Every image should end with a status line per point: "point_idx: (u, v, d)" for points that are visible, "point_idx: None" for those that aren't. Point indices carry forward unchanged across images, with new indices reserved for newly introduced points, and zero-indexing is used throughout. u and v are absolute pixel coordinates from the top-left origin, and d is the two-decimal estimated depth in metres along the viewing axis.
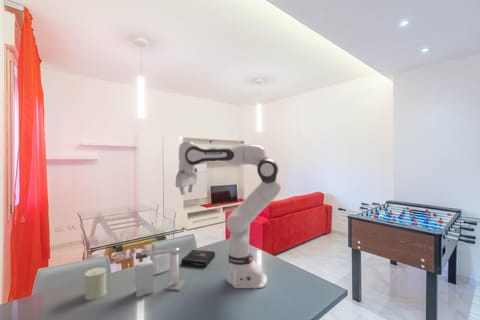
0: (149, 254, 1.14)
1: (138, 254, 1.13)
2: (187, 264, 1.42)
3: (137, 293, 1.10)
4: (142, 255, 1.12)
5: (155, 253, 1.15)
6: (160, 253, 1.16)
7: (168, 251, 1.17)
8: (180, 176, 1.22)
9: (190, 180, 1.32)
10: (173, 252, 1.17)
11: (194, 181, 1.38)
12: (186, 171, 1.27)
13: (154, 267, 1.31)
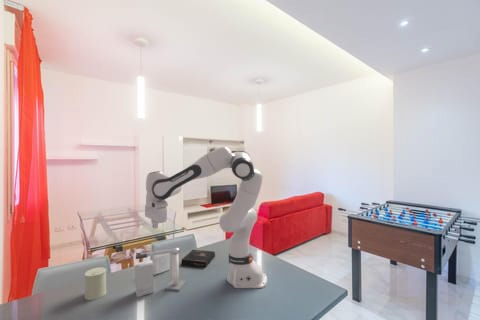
0: (149, 254, 1.14)
1: (138, 254, 1.13)
2: (187, 264, 1.42)
3: (137, 293, 1.10)
4: (142, 255, 1.12)
5: (155, 253, 1.15)
6: (160, 253, 1.16)
7: (168, 251, 1.17)
8: None
9: (152, 214, 1.17)
10: (173, 252, 1.17)
11: (157, 219, 1.13)
12: None
13: (154, 267, 1.31)
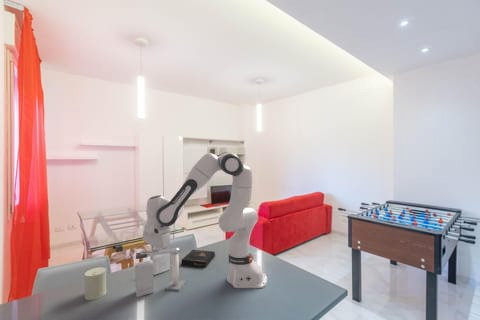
0: (149, 254, 1.14)
1: (138, 254, 1.13)
2: (187, 264, 1.42)
3: (137, 293, 1.10)
4: (142, 255, 1.12)
5: (155, 253, 1.15)
6: (160, 253, 1.16)
7: (168, 251, 1.17)
8: None
9: (154, 240, 1.15)
10: (173, 252, 1.17)
11: (160, 244, 1.12)
12: None
13: (154, 267, 1.31)
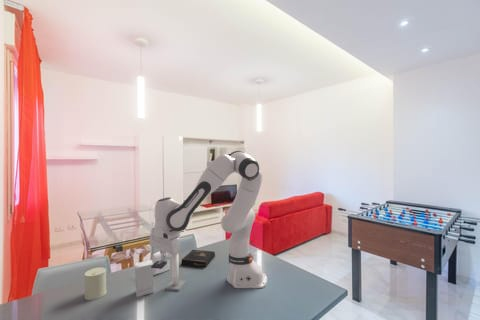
0: (164, 260, 1.06)
1: (156, 265, 1.01)
2: (187, 264, 1.42)
3: (137, 293, 1.10)
4: (163, 263, 1.03)
5: (167, 258, 1.09)
6: (170, 256, 1.11)
7: None
8: None
9: (162, 245, 1.08)
10: None
11: (169, 250, 1.05)
12: None
13: None
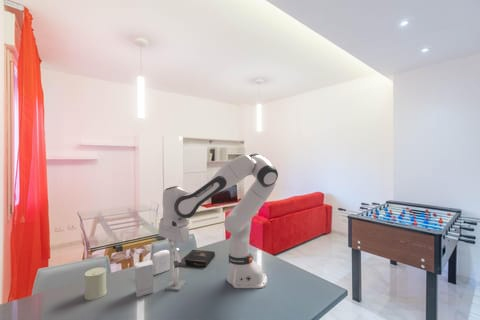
0: None
1: (179, 263, 1.02)
2: (187, 264, 1.42)
3: (137, 293, 1.10)
4: (183, 261, 1.05)
5: (179, 257, 1.10)
6: (178, 255, 1.12)
7: (177, 252, 1.16)
8: None
9: (171, 234, 1.07)
10: (178, 251, 1.19)
11: (178, 238, 1.04)
12: None
13: (154, 267, 1.31)
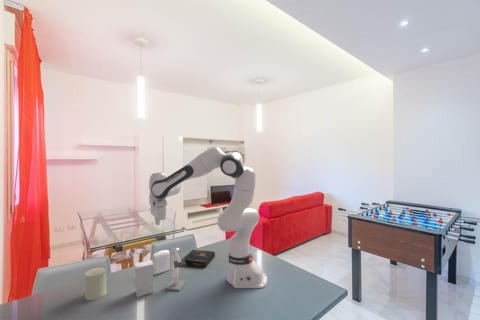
0: None
1: (179, 263, 1.02)
2: (187, 264, 1.42)
3: (137, 293, 1.10)
4: (183, 261, 1.05)
5: (179, 257, 1.10)
6: (178, 255, 1.12)
7: (177, 252, 1.16)
8: None
9: (154, 212, 1.28)
10: (178, 251, 1.19)
11: (157, 216, 1.23)
12: None
13: (154, 267, 1.31)
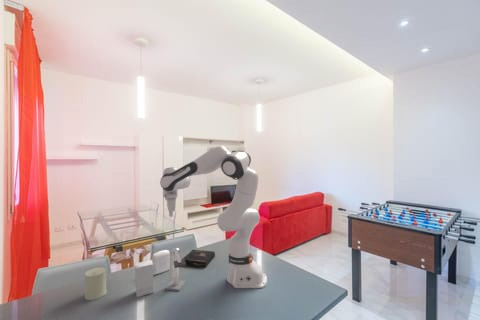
0: None
1: (179, 263, 1.02)
2: (187, 264, 1.42)
3: (137, 293, 1.10)
4: (183, 261, 1.05)
5: (179, 257, 1.10)
6: (178, 255, 1.12)
7: (177, 252, 1.16)
8: None
9: None
10: (178, 251, 1.19)
11: None
12: None
13: (154, 267, 1.31)
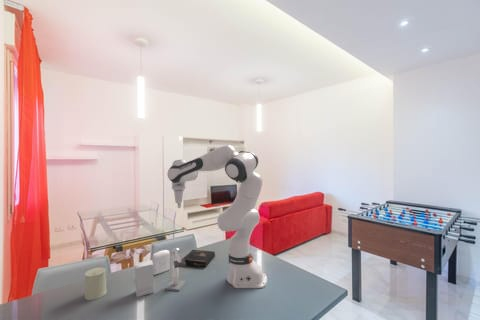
0: None
1: (179, 263, 1.02)
2: (187, 264, 1.42)
3: (137, 293, 1.10)
4: (183, 261, 1.05)
5: (179, 257, 1.10)
6: (178, 255, 1.12)
7: (177, 252, 1.16)
8: None
9: None
10: (178, 251, 1.19)
11: None
12: None
13: (154, 267, 1.31)
